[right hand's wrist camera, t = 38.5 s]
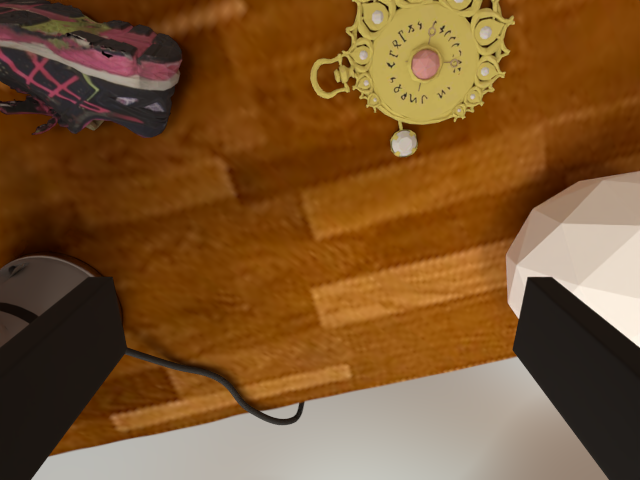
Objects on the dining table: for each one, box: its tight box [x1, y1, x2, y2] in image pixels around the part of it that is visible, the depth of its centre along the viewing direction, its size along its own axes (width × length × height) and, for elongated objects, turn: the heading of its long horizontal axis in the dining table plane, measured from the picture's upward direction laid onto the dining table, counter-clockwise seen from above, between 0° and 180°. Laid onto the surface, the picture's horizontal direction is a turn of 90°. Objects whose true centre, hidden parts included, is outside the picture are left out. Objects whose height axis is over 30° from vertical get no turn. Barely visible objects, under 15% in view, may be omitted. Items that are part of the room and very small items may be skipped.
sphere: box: [506, 171, 640, 347], centre depth 37 cm, size 19×20×20 cm
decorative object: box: [310, 0, 515, 157], centre depth 38 cm, size 21×2×20 cm
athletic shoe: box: [0, 0, 182, 138], centre depth 36 cm, size 11×22×12 cm
